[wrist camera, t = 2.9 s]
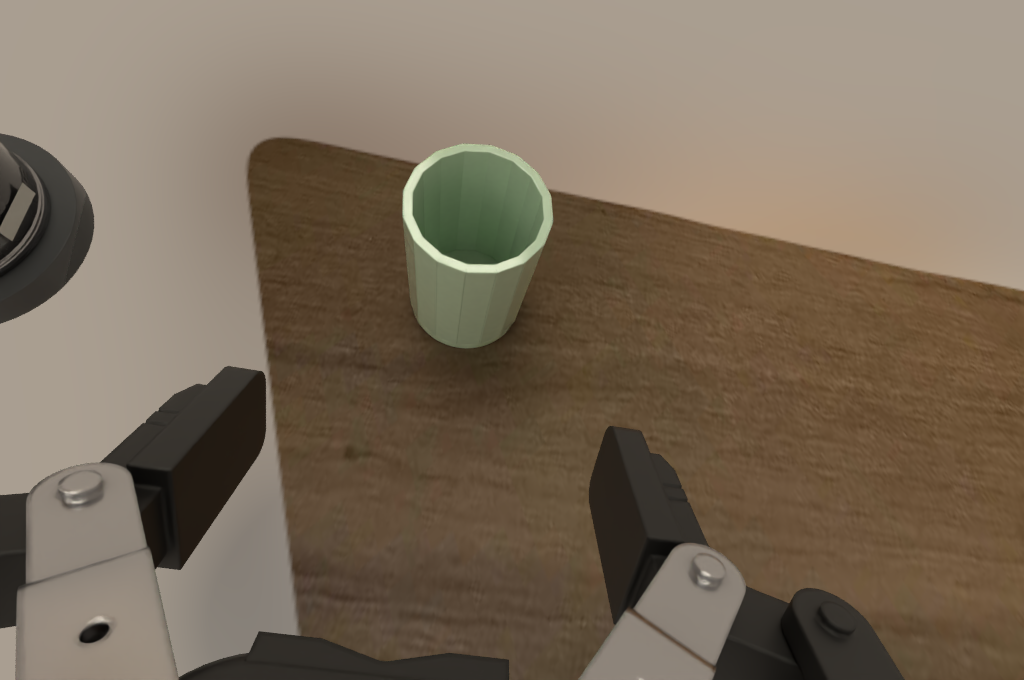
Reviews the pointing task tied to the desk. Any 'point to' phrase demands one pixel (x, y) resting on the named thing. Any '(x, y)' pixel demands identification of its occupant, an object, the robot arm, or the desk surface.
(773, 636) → the robot arm
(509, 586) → the desk surface
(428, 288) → the cup
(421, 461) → the desk surface
